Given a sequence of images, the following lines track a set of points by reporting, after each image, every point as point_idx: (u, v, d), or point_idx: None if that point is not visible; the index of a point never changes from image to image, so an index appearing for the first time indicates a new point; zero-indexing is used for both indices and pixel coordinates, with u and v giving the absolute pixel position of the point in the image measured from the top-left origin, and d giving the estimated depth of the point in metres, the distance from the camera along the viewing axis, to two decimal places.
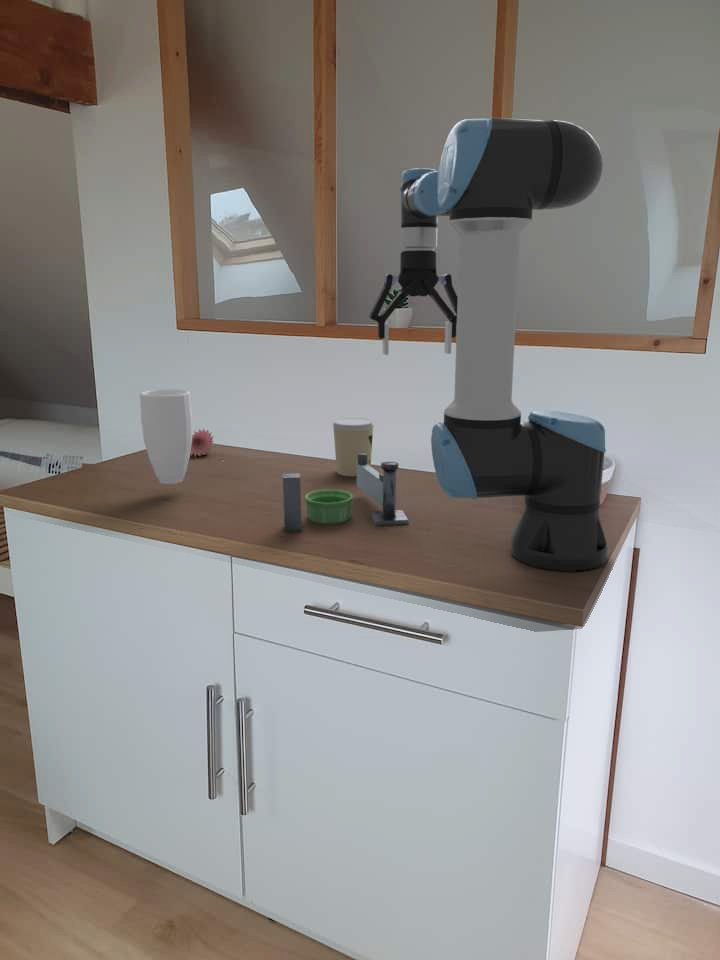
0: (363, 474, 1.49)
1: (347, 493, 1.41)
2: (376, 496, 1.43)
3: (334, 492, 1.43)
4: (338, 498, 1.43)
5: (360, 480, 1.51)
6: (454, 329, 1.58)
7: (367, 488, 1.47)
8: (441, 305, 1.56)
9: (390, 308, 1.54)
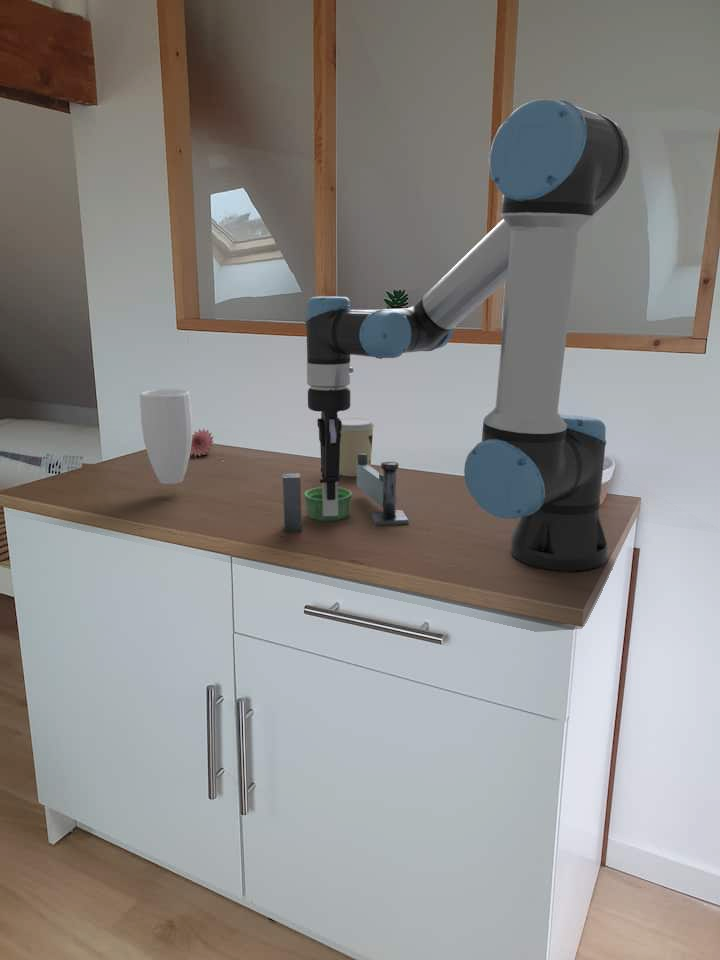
0: (363, 474, 1.49)
1: (346, 490, 1.43)
2: (376, 496, 1.43)
3: None
4: None
5: (360, 480, 1.51)
6: (327, 490, 1.33)
7: (367, 488, 1.47)
8: None
9: (322, 459, 1.35)
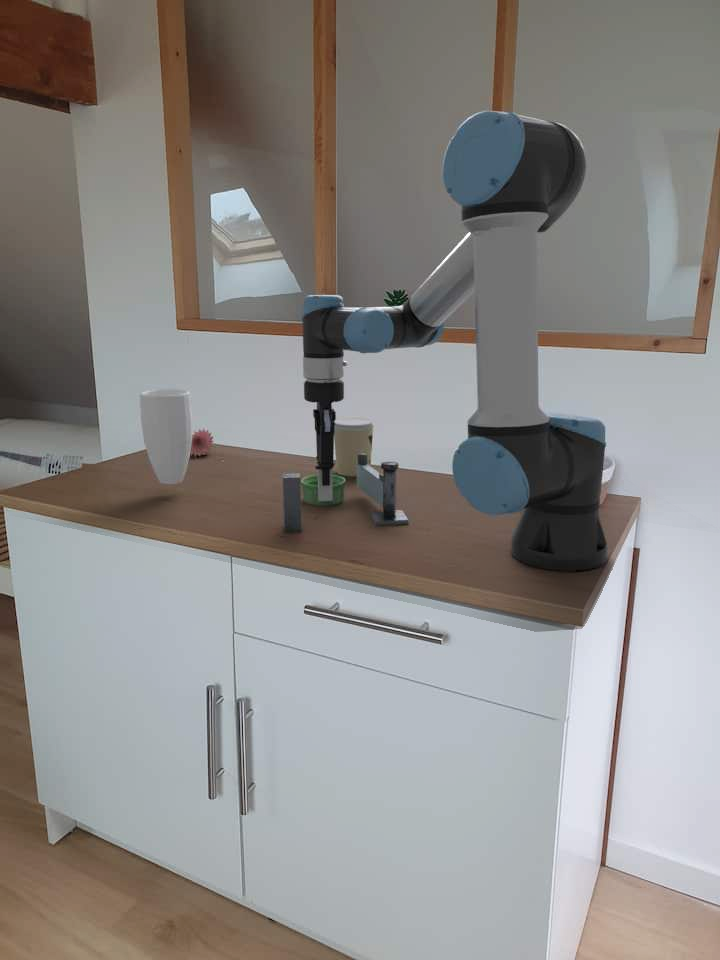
0: (363, 474, 1.49)
1: (340, 477, 1.52)
2: (376, 496, 1.43)
3: None
4: None
5: (360, 480, 1.51)
6: (322, 477, 1.42)
7: (367, 488, 1.47)
8: None
9: (317, 448, 1.44)
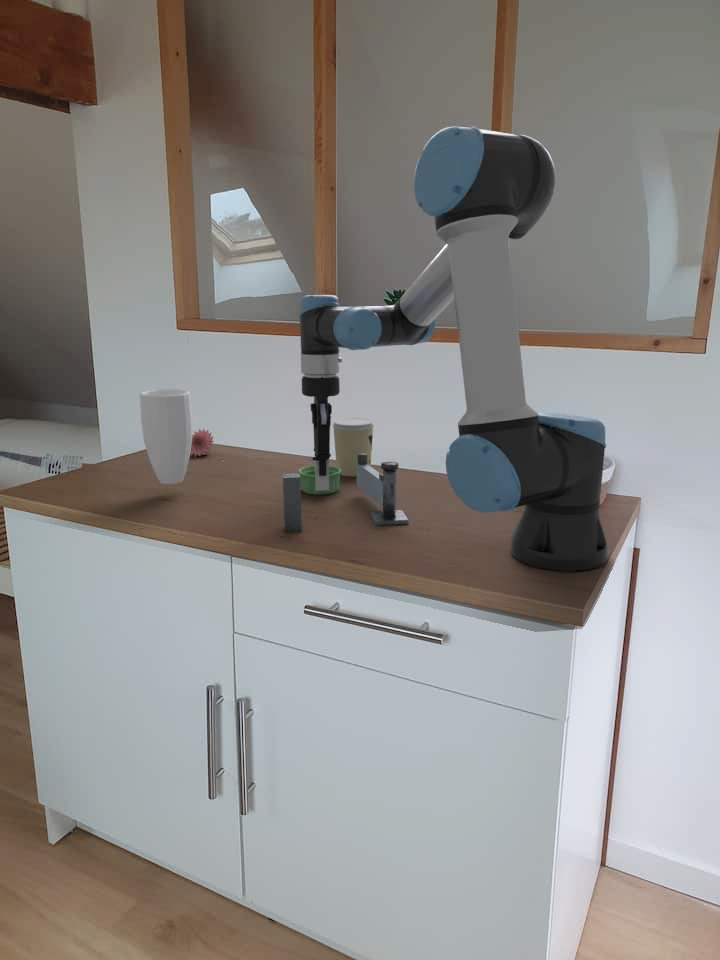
0: (363, 474, 1.49)
1: (336, 468, 1.60)
2: (376, 496, 1.43)
3: None
4: None
5: (360, 480, 1.51)
6: (319, 467, 1.50)
7: (367, 488, 1.47)
8: None
9: (315, 440, 1.52)
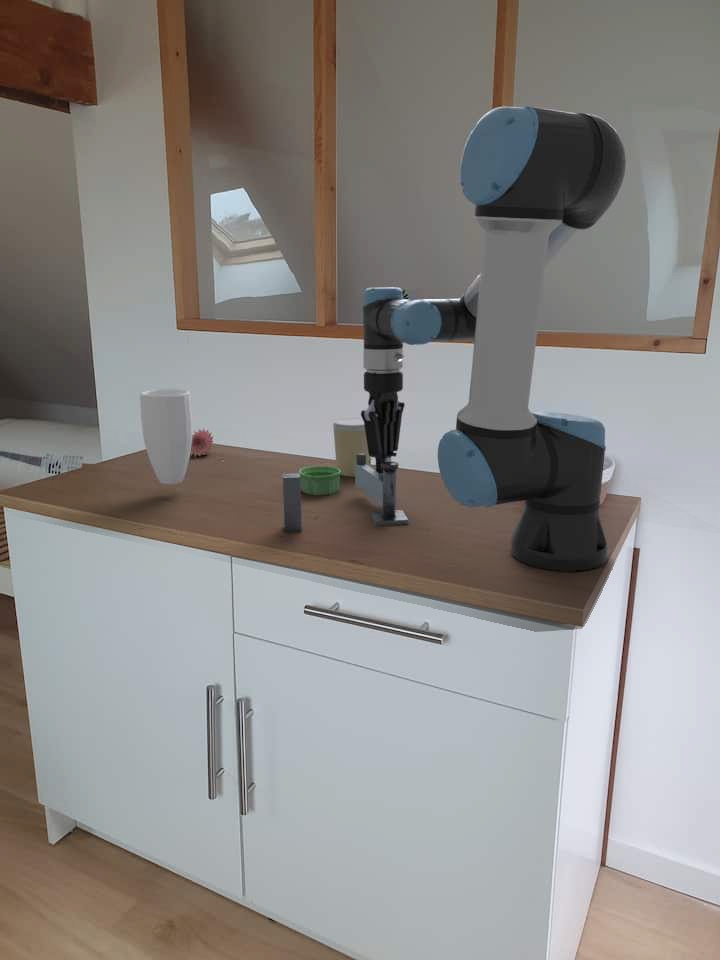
0: (362, 474, 1.49)
1: (336, 468, 1.60)
2: (375, 496, 1.43)
3: (324, 468, 1.61)
4: (327, 473, 1.61)
5: (359, 480, 1.51)
6: None
7: (367, 488, 1.47)
8: None
9: None
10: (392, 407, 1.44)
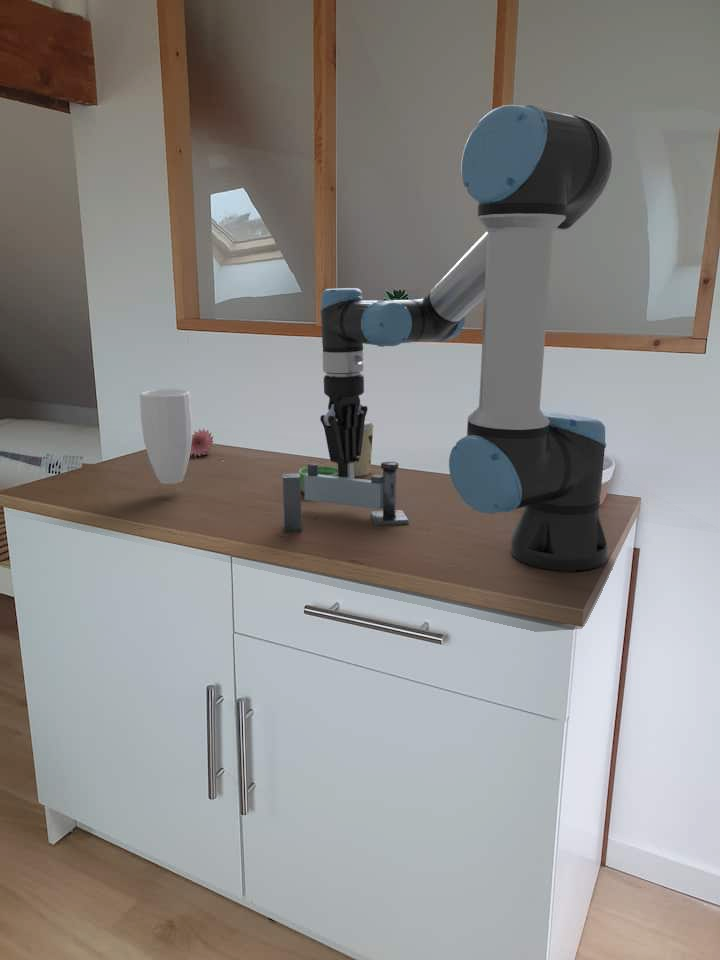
0: (325, 484, 1.42)
1: (336, 468, 1.60)
2: (361, 501, 1.39)
3: (324, 468, 1.61)
4: (327, 473, 1.61)
5: (317, 492, 1.43)
6: None
7: (338, 496, 1.41)
8: None
9: None
10: (353, 411, 1.40)
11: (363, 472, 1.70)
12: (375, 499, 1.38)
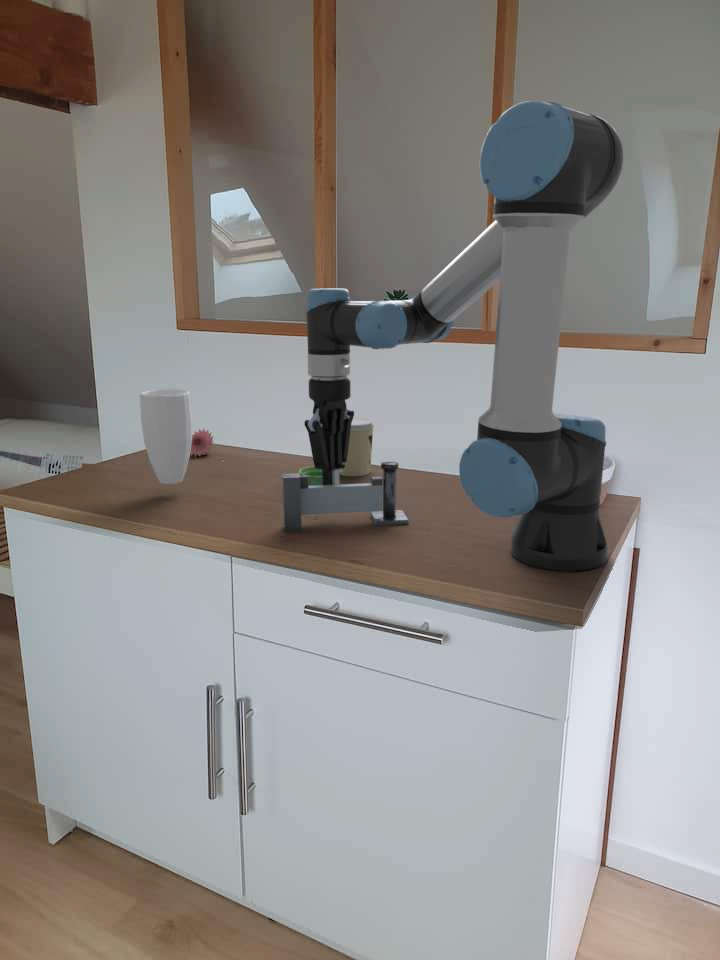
0: (320, 495, 1.35)
1: None
2: (362, 506, 1.37)
3: None
4: None
5: (310, 505, 1.35)
6: None
7: (335, 505, 1.36)
8: None
9: None
10: (339, 416, 1.34)
11: (363, 472, 1.70)
12: (376, 501, 1.37)
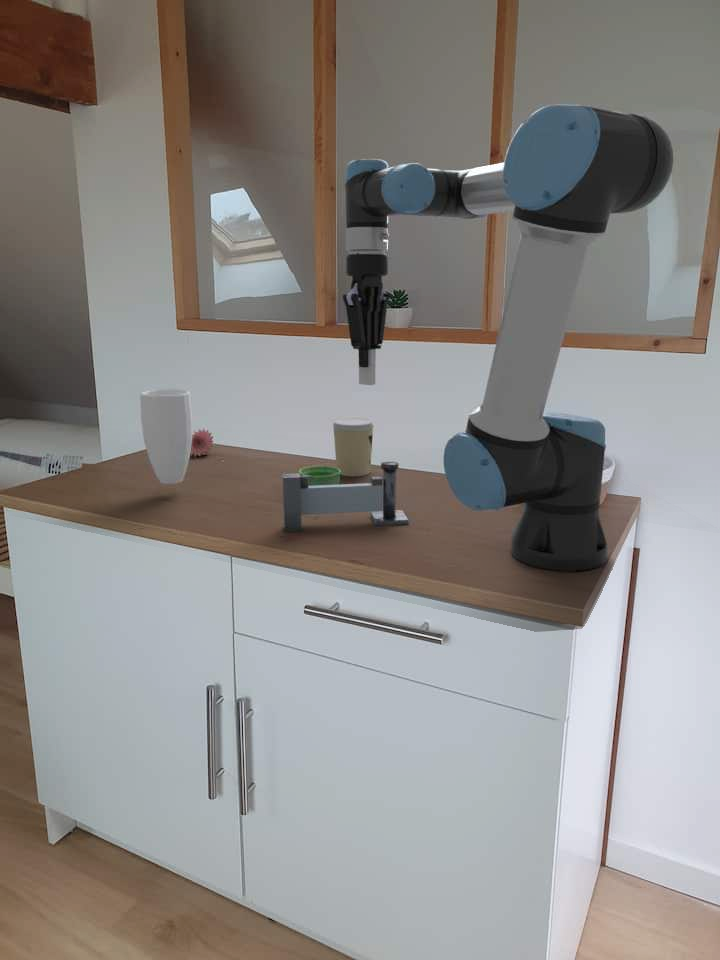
0: (320, 495, 1.35)
1: (336, 468, 1.60)
2: (362, 506, 1.37)
3: (324, 468, 1.61)
4: (327, 473, 1.61)
5: (310, 505, 1.35)
6: None
7: (335, 505, 1.36)
8: None
9: None
10: (376, 294, 1.35)
11: (363, 472, 1.70)
12: (377, 501, 1.37)
